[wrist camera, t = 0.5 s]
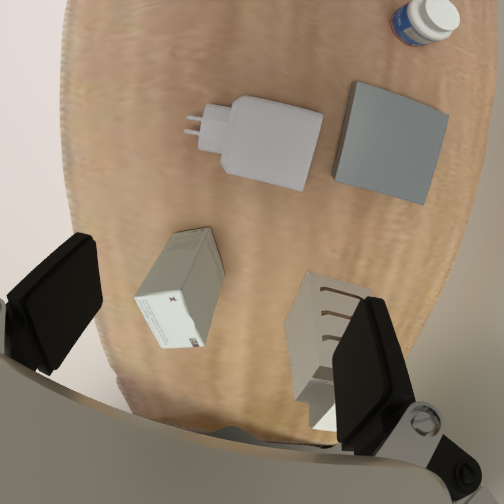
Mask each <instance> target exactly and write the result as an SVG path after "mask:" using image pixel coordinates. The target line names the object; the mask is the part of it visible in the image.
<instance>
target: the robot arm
mask: <svg viewBox="0 0 504 504" xmlns="http://www.w3.org/2000/svg"><path fill="white" fill-rule="evenodd" d="M7 298H8V302H7V303H6V304H5V302H4V301H3V300H2V299H0V504H498V503H497V501H496V500H495V498H494V497H493V495H492V494H491V492H490V491H489V489H488V488H487V486H486V485H485V484H484V485H482V486H481V484H480V483H481V480H482V473H481V468H480V466H479V464H478V463H477V461H476V460H475V459H473V458H472V457H471V456H470V455H469V454H467V453H466V452H464V450H462V449H461V448H459V446H457V445H456V444H455V443H454V442H452V441H451V440H450V439H448V438H447V437H446V436H445V435H444V434H443V432H444V428H445V423H444V418H443V416H442V414H441V413H440V411H439V410H438V409H437V408H436V407H435V406H434V405H432V404H430V403H428V402H424V401H417V402H416V401H415V397H414V393H413V389H412V385H411V382H410V378H409V375H408V371H407V368H406V364H405V361H404V357H403V354H402V351H401V348H400V345H399V342H398V340H397V337H396V333H395V330H394V327H393V324H392V321H391V318H390V316H389V313H388V310H387V307H386V304H385V301H384V300H383V299H381V298H376V297H370V296H367V297H366V298H365V299H364V300H363V299H361V300H360V301H359V303H358V305H357V307H356V309H355V311H354V313H353V315H352V318H351V320H350V322H349V324H348V326H347V328H346V330H345V332H344V334H343V336H342V337H341V339H340V341H339V343H338V345H337V347H336V349H335V351H334V353H333V357H332V368H333V381H334V394H335V410H336V428H337V440H338V442H340V443H342V451H354V455H341V454H324V453H312V452H303V451H293V450H285V449H277V448H269V447H262V446H256V445H250V444H244V443H238V442H234V441H229V440H224V439H219V438H215V437H210V436H206V435H202V434H197V433H193V432H190V431H186V430H182V429H178V428H175V427H171V426H168V425H164V424H161V423H158V422H155V421H151V420H148V419H145V418H142V417H139V416H136V415H133V414H131V413H128V412H125V411H122V410H119V409H117V408H114V407H111V406H109V405H106V404H104V403H101V402H99V401H97V400H94V399H92V398H89V397H87V396H84V395H82V394H80V393H78V392H76V391H73V390H71V389H69V388H67V387H65V386H63V385H60V384H59V383H56V382H54V381H52V380H50V379H48V378H46V377H44V376H42V375H40V374H39V373H37V372H35V371H36V369H37V368H38V370H39V371H40V372H42V373H44V374H46V375H48V376H50V375H51V373H52V372H53V370H57V369H58V368H59V367H60V365H61V364H62V362H63V361H64V359H65V358H66V356H67V354H68V353H69V352H70V350H71V348H72V347H73V346H74V344H75V343H76V341H77V340H78V338H79V337H80V336H81V334H82V333H83V331H84V330H85V328H86V327H87V326H88V324H89V323H90V321H91V320H92V319H93V317H94V316H95V315H96V313H97V312H98V311H99V309H100V308H101V306H102V303H103V296H102V290H101V283H100V275H99V267H98V258H97V248H96V242H95V241H94V240H93V238H92V236H91V235H88V234H84V233H79V232H77V233H75V234H74V235H73V236H71V237H70V238H69V239H68V240H67V241H65V242H64V243H63V244H62V245H61V246H59V247H58V248H57V249H56V250H55V251H54V252H53V253H51V254H50V255H49V256H48V257H47V258H46V259H44V260H43V261H42V262H41V263H40V264H39V265H38V266H37V267H36V268H34V269H33V270H32V271H31V272H30V273H29V274H28V275H27V276H26V277H25V278H24V279H23V280H22V281H21V282H20V283H19V284H18V285H16V286H15V287H14V288H13V289H12V290H11V291H10V292H9V293H8V294H7Z"/></svg>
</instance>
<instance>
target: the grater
mask: <svg viewBox="0 0 504 504" xmlns="http://www.w3.org/2000/svg"><path fill="white" fill-rule="evenodd" d="M320 287H329V288H332V289H336V290H340V291H343V292H347V293H350V294H354V295H358V296H360V297H361V298H363V299H365V298H366V297H367V296H370V297H372V293H371V289H367V288H364V287H360V286H357V285H353V284H350V283H346V282H343V281H339V280H336V279H332V278H329V277H326V276H322V275H319V274H315V273H312V272H308V271H307V273H306V275H305V278H304V280H303V282H302V285H301V287H300V289H299V291H298V294H297V296H296V298H295V301H294V303H293V305H292V307H291V309H290V312H289V314H288V316H287V318H286V320H285V323H284V326H285V332H286V339H287V346H288V353H289V360H290V367H291V374H292V381H293V388H294V395H295V401H300V402H305V403H309V426H310V427H311V428H312V429H318V430H326V431H335V432H337V428H336V410H335V394H334V381H333V368H332V357H333V353H334V351H335V349H336V347H337V345H338V343H339V341H340V339H341V337H342V336H343V334H344V332H345V330H346V328H347V326H348V324H349V322H350V320H349V319H345V318H341V317H337V316H333V315H329V314H328V315H324V316H321V311H326V310H329V311H332V312H336V313H340V314H344V315H348V316H352V315H353V313H354V311H355V309H356V307H357V305H358V303H359V301H360V300H359V299H357V298H353V297H350V296H346V295H342V294H339V293H335V292H331V291H327V290H325V291H321V292H320ZM322 341H323V342H322ZM313 378H317V379H313ZM318 379H322V380H318ZM323 380H328V381H333V382H328V381H323Z"/></svg>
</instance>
